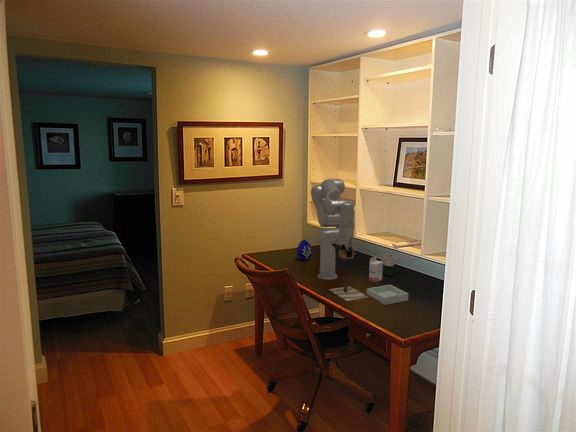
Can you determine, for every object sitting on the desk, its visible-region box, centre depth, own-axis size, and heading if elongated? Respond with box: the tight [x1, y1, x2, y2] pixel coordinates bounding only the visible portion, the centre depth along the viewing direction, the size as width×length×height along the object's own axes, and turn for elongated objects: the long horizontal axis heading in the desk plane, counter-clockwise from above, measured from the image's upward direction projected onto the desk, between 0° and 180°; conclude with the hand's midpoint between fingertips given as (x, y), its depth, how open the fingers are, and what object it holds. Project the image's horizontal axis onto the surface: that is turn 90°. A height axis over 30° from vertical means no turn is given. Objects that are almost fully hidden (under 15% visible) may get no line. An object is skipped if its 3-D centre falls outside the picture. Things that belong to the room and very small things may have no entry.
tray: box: [366, 284, 409, 306], centre depth 249 cm, size 16×16×4 cm
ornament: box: [296, 239, 313, 261], centre depth 324 cm, size 11×9×15 cm
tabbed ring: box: [338, 248, 356, 260], centre depth 254 cm, size 6×8×4 cm
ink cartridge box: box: [368, 255, 384, 283], centre depth 278 cm, size 9×5×15 cm, turn 141°
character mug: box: [380, 253, 397, 276], centre depth 289 cm, size 11×7×13 cm, turn 107°
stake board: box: [329, 281, 369, 302], centre depth 254 cm, size 20×14×6 cm
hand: (346, 255), depth 254 cm, fingers closed on tabbed ring, 5 cm apart
